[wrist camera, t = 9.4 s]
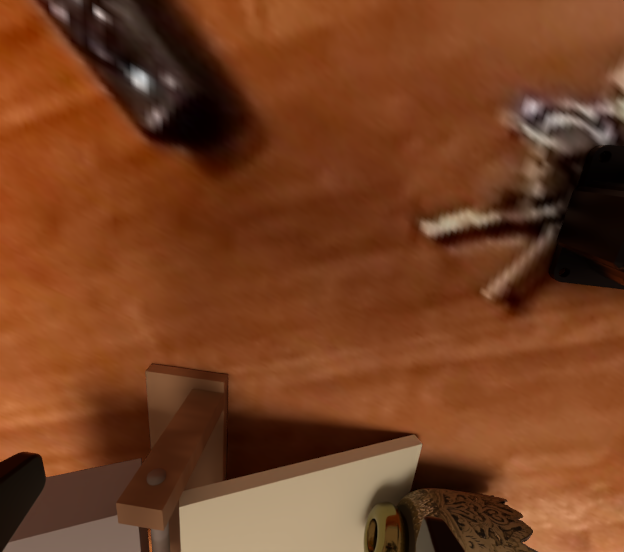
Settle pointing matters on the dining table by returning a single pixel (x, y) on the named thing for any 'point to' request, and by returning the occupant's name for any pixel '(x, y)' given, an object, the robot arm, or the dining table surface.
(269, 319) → the dining table surface
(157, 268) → the dining table surface
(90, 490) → the trapdoor
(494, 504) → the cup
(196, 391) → the post frame
